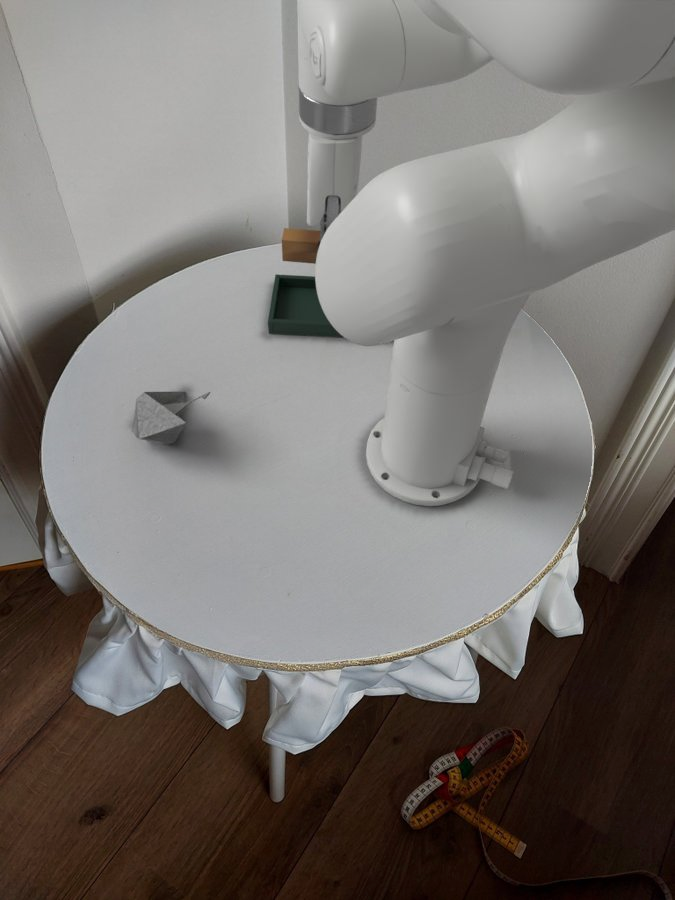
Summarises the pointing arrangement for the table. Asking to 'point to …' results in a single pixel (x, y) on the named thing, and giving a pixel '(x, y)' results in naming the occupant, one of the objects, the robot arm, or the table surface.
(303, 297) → the tray
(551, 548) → the table surface
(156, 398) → the grey angular piece
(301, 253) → the fork
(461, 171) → the robot arm
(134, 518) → the table surface
